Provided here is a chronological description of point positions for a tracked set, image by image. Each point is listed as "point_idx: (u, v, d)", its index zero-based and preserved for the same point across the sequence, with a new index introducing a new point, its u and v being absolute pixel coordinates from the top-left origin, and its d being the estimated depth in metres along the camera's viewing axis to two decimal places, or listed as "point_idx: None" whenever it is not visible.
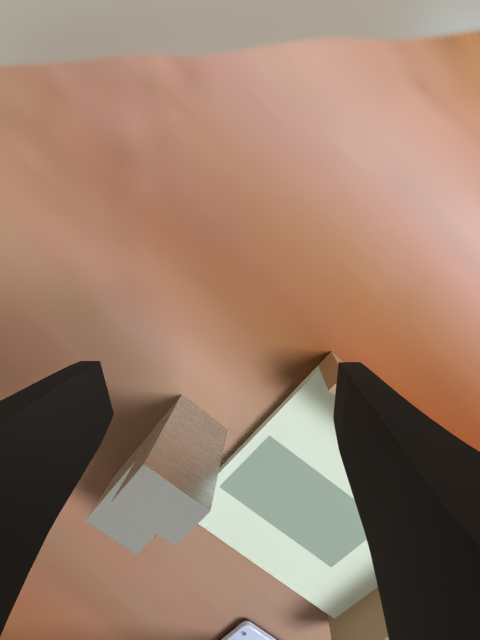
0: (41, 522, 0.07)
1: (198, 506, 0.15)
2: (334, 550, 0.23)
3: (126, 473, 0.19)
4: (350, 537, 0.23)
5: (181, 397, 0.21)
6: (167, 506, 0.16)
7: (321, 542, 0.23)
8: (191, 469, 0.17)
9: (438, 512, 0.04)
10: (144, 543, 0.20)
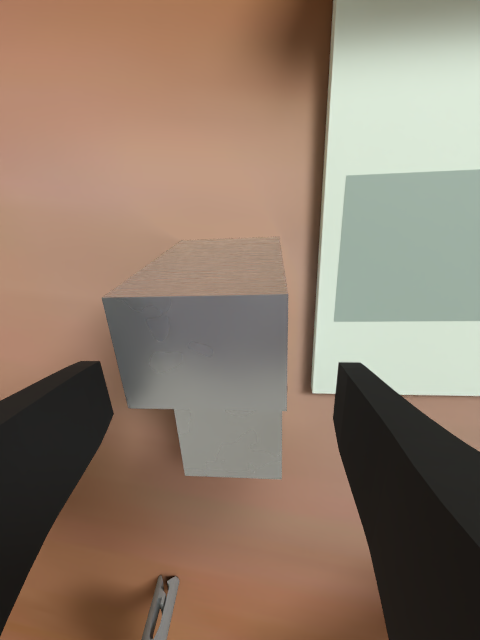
0: (41, 521, 0.07)
1: (260, 302, 0.07)
2: None
3: None
4: None
5: (181, 241, 0.13)
6: (210, 347, 0.07)
7: None
8: (220, 274, 0.08)
9: (439, 512, 0.04)
10: (278, 457, 0.12)
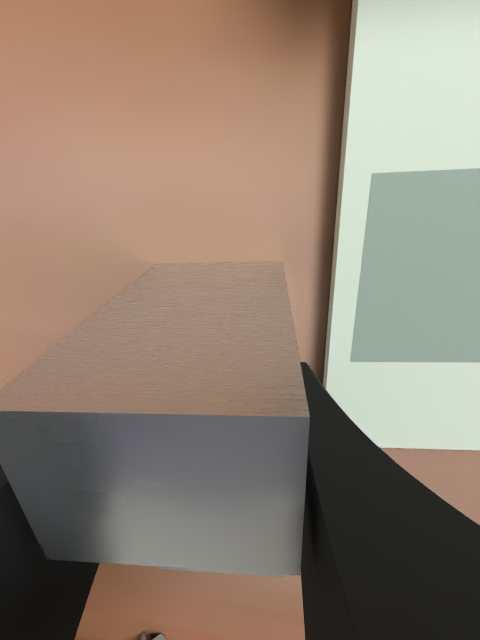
0: None
1: (257, 428, 0.04)
2: None
3: None
4: None
5: (155, 267, 0.10)
6: (171, 488, 0.04)
7: None
8: (194, 346, 0.05)
9: (318, 507, 0.04)
10: None
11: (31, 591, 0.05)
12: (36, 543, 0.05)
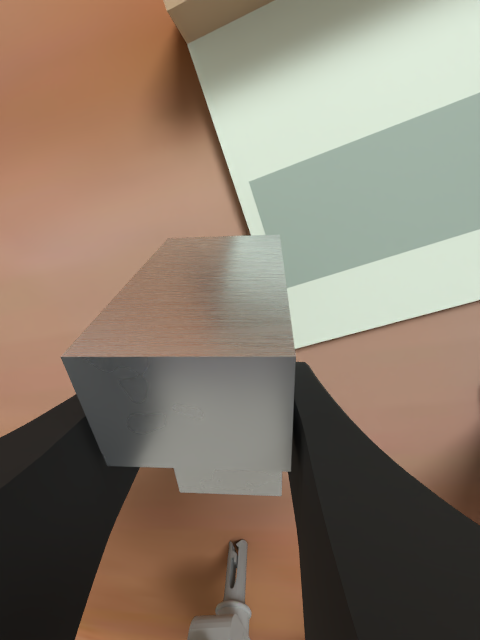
0: (103, 525, 0.07)
1: (259, 365, 0.05)
2: (479, 199, 0.15)
3: None
4: (476, 162, 0.14)
5: (167, 242, 0.11)
6: (199, 410, 0.06)
7: (452, 212, 0.15)
8: (211, 310, 0.07)
9: (317, 507, 0.04)
10: (278, 477, 0.12)
11: (31, 591, 0.05)
12: (36, 543, 0.05)
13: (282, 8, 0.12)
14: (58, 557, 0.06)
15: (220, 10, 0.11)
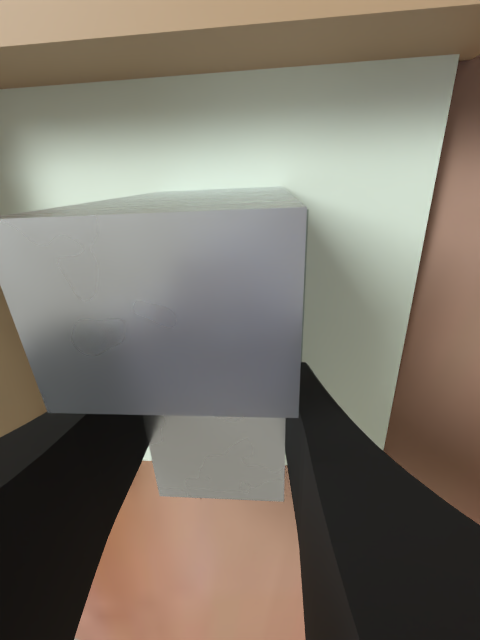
0: (103, 525, 0.07)
1: (256, 225, 0.04)
2: None
3: None
4: None
5: (155, 192, 0.10)
6: (170, 311, 0.04)
7: None
8: (194, 202, 0.05)
9: (319, 507, 0.04)
10: (280, 474, 0.09)
11: (30, 591, 0.05)
12: (35, 543, 0.05)
13: None
14: (57, 557, 0.06)
15: None
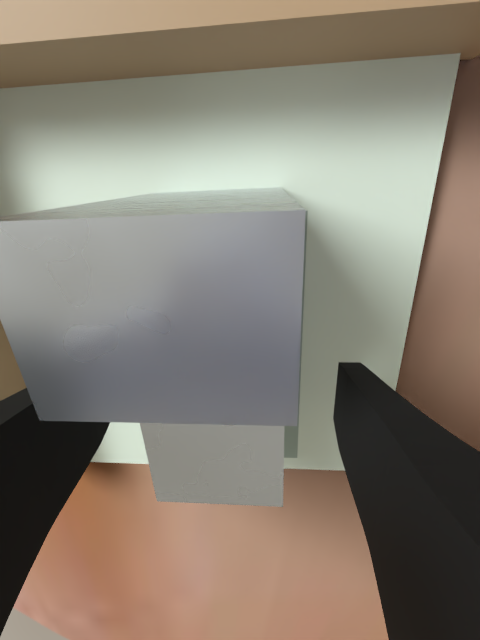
0: (41, 521, 0.07)
1: (253, 229, 0.04)
2: None
3: None
4: None
5: (152, 193, 0.10)
6: (164, 316, 0.04)
7: None
8: (190, 204, 0.05)
9: (438, 513, 0.04)
10: (278, 479, 0.09)
11: None
12: None
13: None
14: None
15: None
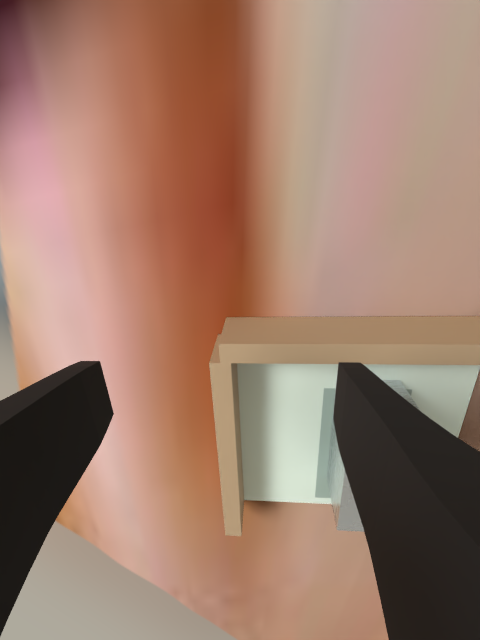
0: (41, 521, 0.07)
1: None
2: None
3: (345, 477, 0.19)
4: None
5: None
6: None
7: None
8: None
9: (438, 512, 0.04)
10: None
11: None
12: None
13: (246, 465, 0.25)
14: None
15: (242, 501, 0.24)
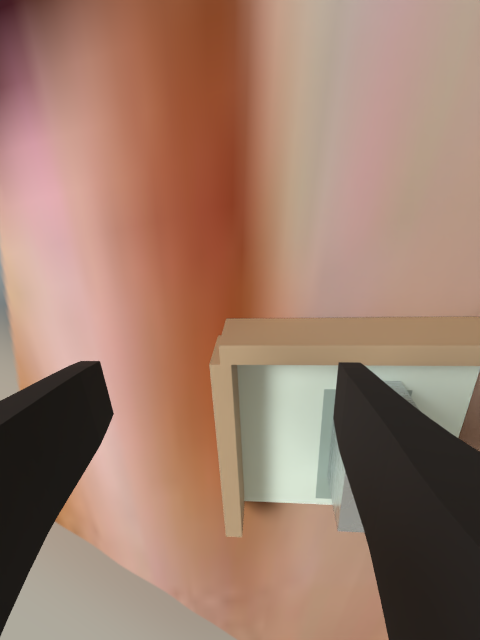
0: (41, 521, 0.07)
1: None
2: None
3: (345, 478, 0.19)
4: None
5: None
6: None
7: None
8: None
9: (439, 512, 0.04)
10: None
11: None
12: None
13: (247, 466, 0.25)
14: None
15: (242, 502, 0.24)
